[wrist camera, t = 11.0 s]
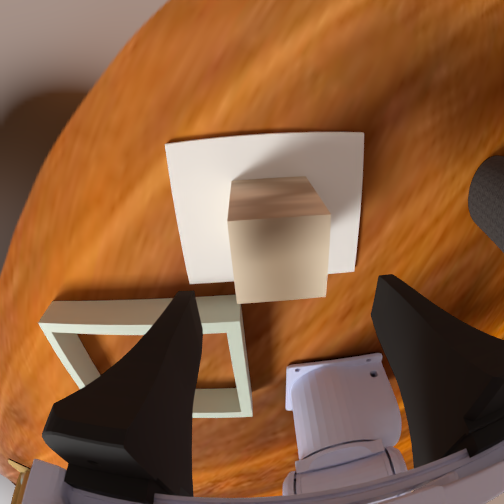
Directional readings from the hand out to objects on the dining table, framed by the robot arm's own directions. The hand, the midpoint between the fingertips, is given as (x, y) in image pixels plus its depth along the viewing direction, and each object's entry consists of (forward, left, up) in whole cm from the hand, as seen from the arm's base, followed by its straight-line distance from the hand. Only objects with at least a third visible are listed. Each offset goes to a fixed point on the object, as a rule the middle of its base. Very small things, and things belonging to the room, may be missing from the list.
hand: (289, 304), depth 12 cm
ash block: (0, 0, -9) cm, 9 cm away
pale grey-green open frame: (+11, +13, -9) cm, 19 cm away
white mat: (0, 0, -9) cm, 9 cm away
